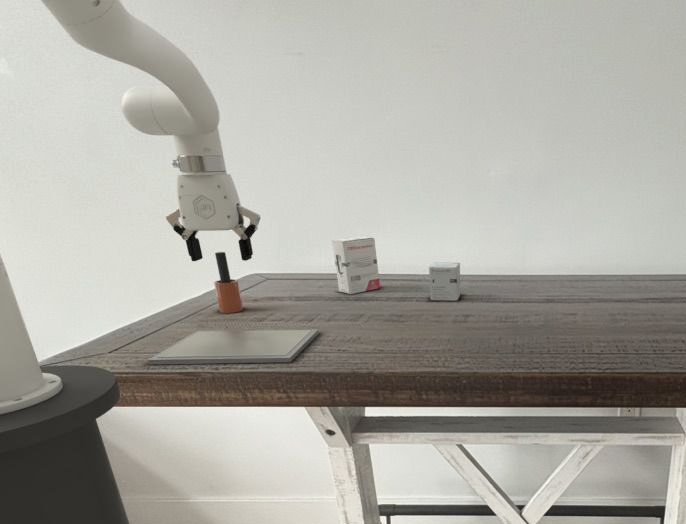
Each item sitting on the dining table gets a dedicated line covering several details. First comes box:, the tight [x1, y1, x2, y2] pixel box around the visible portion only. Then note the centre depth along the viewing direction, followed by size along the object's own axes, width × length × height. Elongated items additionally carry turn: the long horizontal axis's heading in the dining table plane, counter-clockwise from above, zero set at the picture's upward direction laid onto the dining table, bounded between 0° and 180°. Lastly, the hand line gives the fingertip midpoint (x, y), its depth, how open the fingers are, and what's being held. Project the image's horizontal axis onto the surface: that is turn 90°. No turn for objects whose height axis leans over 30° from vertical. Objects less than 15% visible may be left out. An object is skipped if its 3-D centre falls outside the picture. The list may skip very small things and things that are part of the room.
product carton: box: [428, 261, 461, 302], centre depth 121 cm, size 6×6×7 cm
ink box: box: [331, 236, 381, 295], centre depth 128 cm, size 9×5×12 cm, turn 139°
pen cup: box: [213, 278, 244, 314], centre depth 112 cm, size 4×4×6 cm
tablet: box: [147, 328, 320, 365], centre depth 90 cm, size 15×21×1 cm
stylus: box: [214, 251, 232, 283], centre depth 111 cm, size 2×2×11 cm
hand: (222, 259), depth 109 cm, fingers open, 9 cm apart
